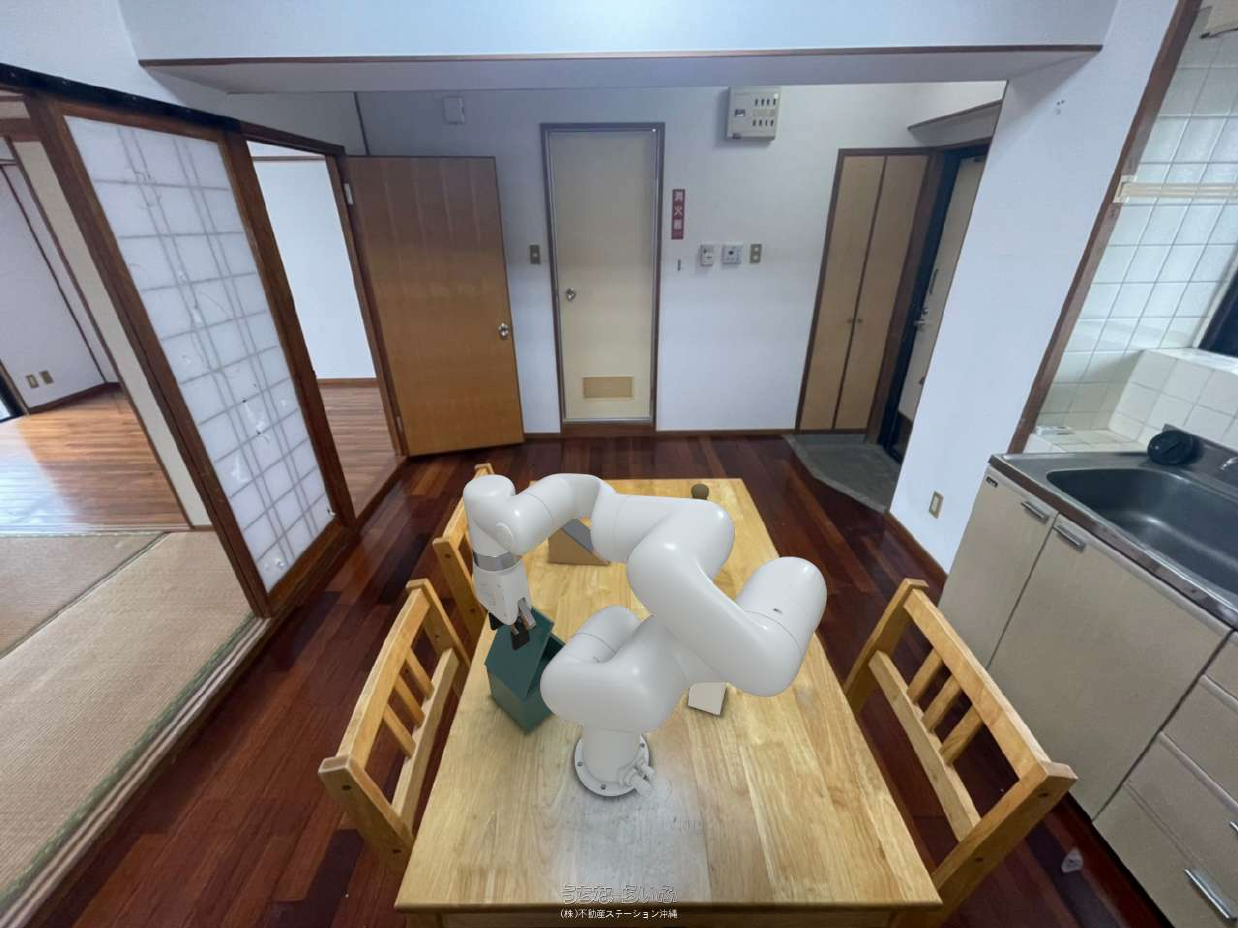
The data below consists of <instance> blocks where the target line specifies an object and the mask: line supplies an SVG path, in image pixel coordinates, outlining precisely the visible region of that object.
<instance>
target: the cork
mask: <svg viewBox="0 0 1238 928" xmlns="http://www.w3.org/2000/svg"><path fill="white" fill-rule="evenodd" d="M690 494H691V496H692V497H691V499H701V500H707V501H708V497H709V496H710V488H709V485H706V484H704V483H696V484H695V483H694V484H693V485H692V487H691V489H690Z"/></svg>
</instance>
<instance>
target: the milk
mask: <svg viewBox="0 0 1238 928" xmlns="http://www.w3.org/2000/svg"><path fill="white" fill-rule="evenodd" d="M726 689H727V682H714V683H697V684H694V685H692V686H691V687H690V688H689V689H688V690H689V691H688V702H687V706H688V707H692V708H695V709H697V710H701V711H704V712H706V713H707V712H708V713H710V714H713V715H717V716H720V714H721V710H722V707H723V702H724V697H725V693H726Z"/></svg>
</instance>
